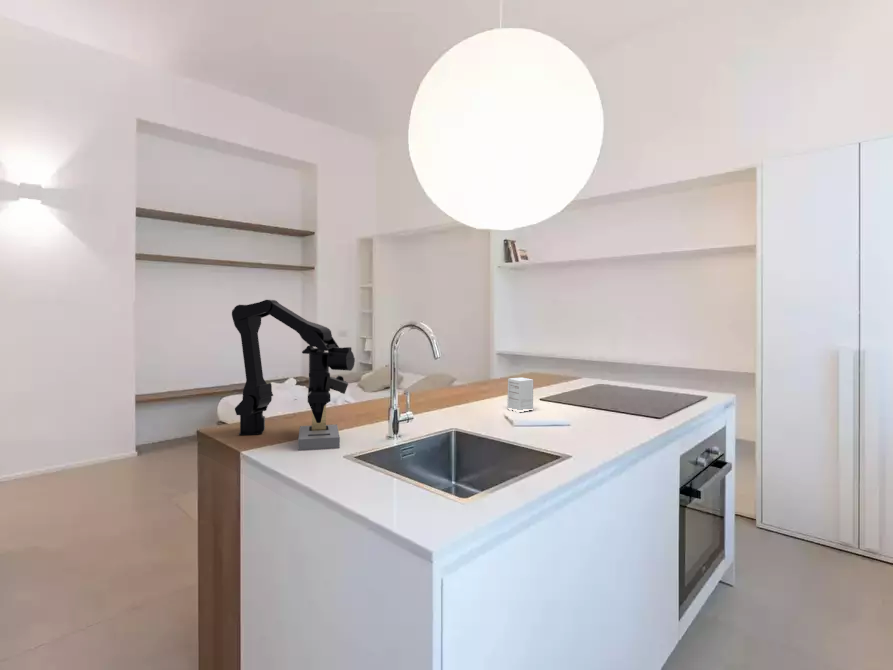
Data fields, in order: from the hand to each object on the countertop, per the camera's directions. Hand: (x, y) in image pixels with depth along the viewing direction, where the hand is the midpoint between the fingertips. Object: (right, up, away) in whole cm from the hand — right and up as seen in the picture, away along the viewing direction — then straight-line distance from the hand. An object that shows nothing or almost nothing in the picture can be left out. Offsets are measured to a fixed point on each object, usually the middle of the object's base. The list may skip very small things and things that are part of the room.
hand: (318, 421), depth 144 cm
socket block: (+1, -5, -4) cm, 6 cm away
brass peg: (0, -4, 0) cm, 4 cm away
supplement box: (+67, -4, +47) cm, 82 cm away
